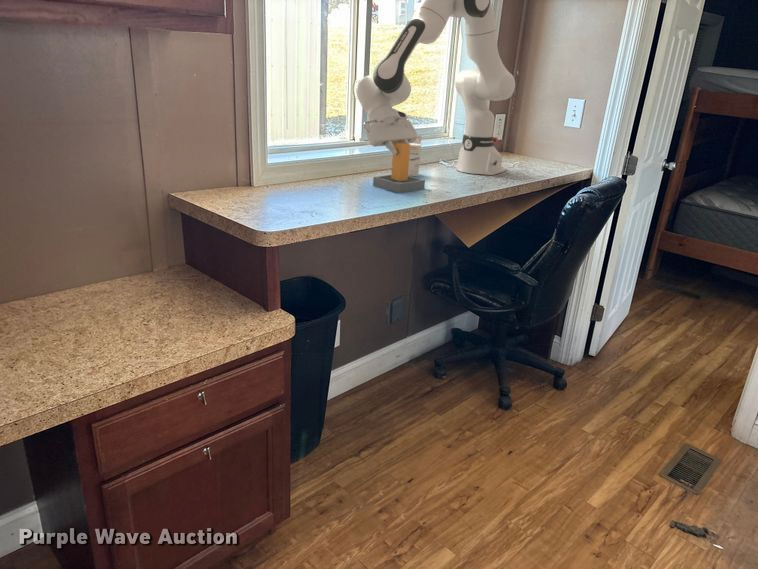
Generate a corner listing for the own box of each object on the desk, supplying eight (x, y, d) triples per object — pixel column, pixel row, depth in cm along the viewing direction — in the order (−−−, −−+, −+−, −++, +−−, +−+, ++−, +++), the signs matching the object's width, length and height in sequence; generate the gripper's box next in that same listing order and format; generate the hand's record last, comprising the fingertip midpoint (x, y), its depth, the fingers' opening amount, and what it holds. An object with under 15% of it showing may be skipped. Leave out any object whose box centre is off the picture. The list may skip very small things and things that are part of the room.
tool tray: (398, 181, 202) (399, 173, 201) (424, 188, 194) (425, 180, 192) (372, 185, 194) (373, 176, 192) (398, 193, 185) (399, 184, 184)
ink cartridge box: (395, 174, 213) (398, 135, 207) (396, 172, 218) (399, 133, 212) (418, 176, 212) (421, 136, 207) (418, 173, 217) (422, 135, 211)
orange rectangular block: (399, 177, 195) (401, 142, 190) (407, 179, 192) (410, 144, 188) (391, 178, 192) (393, 143, 188) (399, 181, 190) (401, 145, 185)
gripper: (366, 114, 182) (385, 150, 180) (409, 113, 196) (427, 145, 193) (356, 127, 187) (375, 161, 184) (399, 124, 200) (417, 156, 198)
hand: (402, 153), depth 189 cm, fingers closed on orange rectangular block, 4 cm apart
